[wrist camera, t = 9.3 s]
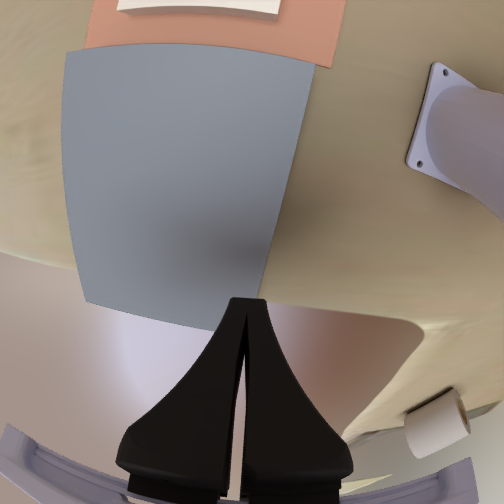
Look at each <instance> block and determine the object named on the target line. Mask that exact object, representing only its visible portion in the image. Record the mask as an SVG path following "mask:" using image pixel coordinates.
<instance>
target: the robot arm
mask: <svg viewBox="0 0 504 504" xmlns="http://www.w3.org/2000/svg"><path fill="white" fill-rule="evenodd" d="M443 70H445V72H446V74H445V76H444V74H443ZM418 161H420V165H419V166H417V162H418ZM406 164H407V165H408V166H409V167H410V168H412V169H415V170H417V171H420V172H422V173H424V174H427V175H429V176H432V177H434V178H436V179H439V180H441V181H443V182H445V183H448V184H450V185H452V186H454V187H456V188H458V189H460V190H462V191H465V192H467V193H469V194H470V195H471V196H473V197H474V198H475V199H476V200H478V201H479V202H480V203H481V204H483V205H484V206H485V207H486V208H487V209H489V210H490V211H491V212H492V213H493V214H495V215H496V216H497V217H498V218H499V219H500V220H501V221H502V222H504V94H500V93H496V92H492V91H487V90H482V89H479V88H477V87H476V86H475V85H473V84H472V83H470V82H469V81H468V80H466V79H465V78H463V77H462V76H460V75H459V74H457V73H456V72H454V71H453V70H451V69H450V68H448V67H446V66H445V65H443V64H441V63H439V62H436V63H433V64H432V67H431V72H430V77H429V81H428V85H427V89H426V93H425V97H424V101H423V105H422V109H421V112H420V116H419V119H418V123H417V126H416V130H415V133H414V136H413V139H412V142H411V145H410V149H409V152H408V155H407V158H406ZM244 354H245V383H246V385H245V386H246V416H245V430H244V445H243V459H242V473H241V487H240V501H233V500H221V499H220V497H227V492H228V490H229V484H230V470H231V456H232V455H231V454H232V442H233V429H234V417H235V406H236V398H237V393H238V387H239V382H240V377H241V371H242V366H243V360H244ZM116 464H117V465H118V466H119V467H121V468H122V469H124V470H126V471H127V472H129V473H130V478H129V481H126V480H123V479H120V478H117V477H114V476H111V475H108V474H105V473H103V472H100V471H97V470H95V469H92V468H89V467H87V466H84V465H82V464H80V463H77V462H75V461H73V460H71V459H68V458H66V457H64V456H62V455H60V454H58V453H56V452H54V451H52V450H50V449H48V448H46V447H44V446H42V445H40V444H39V443H37V442H36V441H35V440H33V439H32V438H31V437H29V436H28V435H26V434H24V433H23V432H21V431H19V430H18V429H16V428H14V427H13V426H12V425H10V424H6V427H5V429H4V432H3V435H2V437H1V441H0V474H2V475H3V476H4V477H6V478H7V479H8V480H9V481H11V482H12V483H13V484H15V485H16V486H17V487H19V488H20V489H21V490H22V491H24V492H25V493H26V494H28V495H29V496H30V497H32V498H33V499H34V500H36V501H37V502H38V503H40V504H135V503H131V502H129V501H128V499H127V497H126V496H125V495H127V496H130V497H133V498H136V499H140V500H144V501H147V502H151V503H155V504H478V502H479V499H478V492H477V486H476V480H475V475H474V470H473V465H472V461H471V458H470V457H468V458H466V459H464V460H461V461H459V462H457V463H454V464H452V465H450V466H448V467H446V468H444V469H441V470H440V471H438V472H436V473H434V474H431V475H428V476H425V477H422V478H419V479H416V480H413V481H410V482H406V483H403V484H399V485H396V486H392V487H388V488H384V489H380V490H375V491H371V492H366V493H361V494H355V495H349V496H343V497H339V489H341V479H343V478H345V477H347V476H349V475H350V474H351V473H352V472H353V461H352V457H351V454H350V451H349V448H348V446H347V444H346V443H345V442H344V441H343V439H342V438H341V437H340V436H339V435H338V434H337V433H336V432H335V431H334V430H333V429H332V428H331V427H330V426H329V425H328V423H327V422H326V421H325V419H324V418H323V417H322V416H321V414H320V413H319V412H318V410H317V409H316V408H315V406H314V405H313V404H312V402H311V401H310V399H309V398H308V397H307V395H306V394H305V393H304V391H303V389H302V388H301V386H300V384H299V383H298V381H297V379H296V378H295V376H294V374H293V372H292V370H291V369H290V367H289V365H288V363H287V361H286V359H285V356H284V355H283V352H282V350H281V348H280V345H279V343H278V340H277V338H276V335H275V333H274V330H273V327H272V324H271V321H270V317H269V313H268V310H267V302H266V301H265V300H264V299H256V298H241V297H232V298H230V300H229V303H228V306H227V309H226V311H225V313H224V315H223V317H222V319H221V322H220V323H219V325H218V327H217V329H216V331H215V332H214V334H213V336H212V338H211V340H210V341H209V343H208V344H207V346H206V347H205V349H204V350H203V352H202V353H201V355H200V356H199V357H198V359H197V360H196V362H195V363H194V364H193V365H192V367H191V368H190V369H189V371H188V372H187V373H186V374H185V375H184V377H183V378H182V379H181V380H180V381H179V382H178V383H177V385H176V386H175V387H174V388H173V389H172V390H171V391H170V392H169V393H168V394H167V395H166V396H165V397H164V398H163V399H162V400H161V401H160V402H158V403H157V404H156V405H155V406H154V407H153V408H152V409H151V410H150V411H148V412H147V413H146V414H145V415H143V416H142V417H141V418H140V419H138V420H137V421H136V422H135V423H133V424H132V425H131V426H129V427H128V429H127V430H126V432H125V434H124V436H123V438H122V441H121V443H120V445H119V449H118V454H117V457H116Z"/></svg>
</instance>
